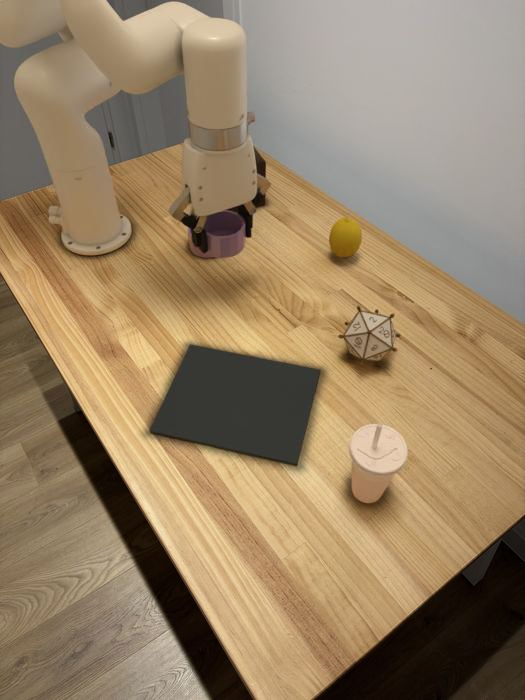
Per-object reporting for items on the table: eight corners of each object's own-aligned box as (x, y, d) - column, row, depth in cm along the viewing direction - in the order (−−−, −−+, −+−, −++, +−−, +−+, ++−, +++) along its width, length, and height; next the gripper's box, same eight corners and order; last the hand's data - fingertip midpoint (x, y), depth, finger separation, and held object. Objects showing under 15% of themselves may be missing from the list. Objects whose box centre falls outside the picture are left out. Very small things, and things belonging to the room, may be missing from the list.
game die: (372, 364, 86) (420, 323, 81) (364, 391, 79) (415, 347, 74) (330, 326, 85) (375, 282, 80) (317, 349, 78) (366, 302, 73)
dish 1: (184, 254, 98) (182, 237, 96) (197, 232, 103) (195, 214, 100) (221, 260, 97) (219, 243, 94) (232, 237, 102) (231, 220, 99)
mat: (149, 432, 73) (149, 430, 73) (190, 346, 84) (189, 344, 83) (296, 466, 70) (297, 464, 70) (320, 371, 80) (320, 369, 80)
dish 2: (195, 253, 84) (193, 233, 81) (209, 227, 88) (207, 206, 85) (238, 261, 83) (238, 241, 80) (250, 234, 87) (250, 214, 84)
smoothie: (336, 468, 70) (349, 402, 59) (386, 464, 70) (407, 398, 60) (345, 516, 66) (361, 453, 55) (399, 511, 66) (424, 449, 55)
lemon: (358, 247, 99) (364, 209, 93) (358, 267, 96) (365, 229, 90) (327, 245, 100) (331, 208, 94) (326, 265, 96) (330, 227, 90)
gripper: (261, 103, 77) (259, 211, 90) (144, 133, 71) (161, 244, 84) (290, 126, 72) (283, 236, 86) (168, 160, 66) (182, 273, 80)
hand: (223, 239), depth 85 cm, fingers closed on dish 2, 6 cm apart
